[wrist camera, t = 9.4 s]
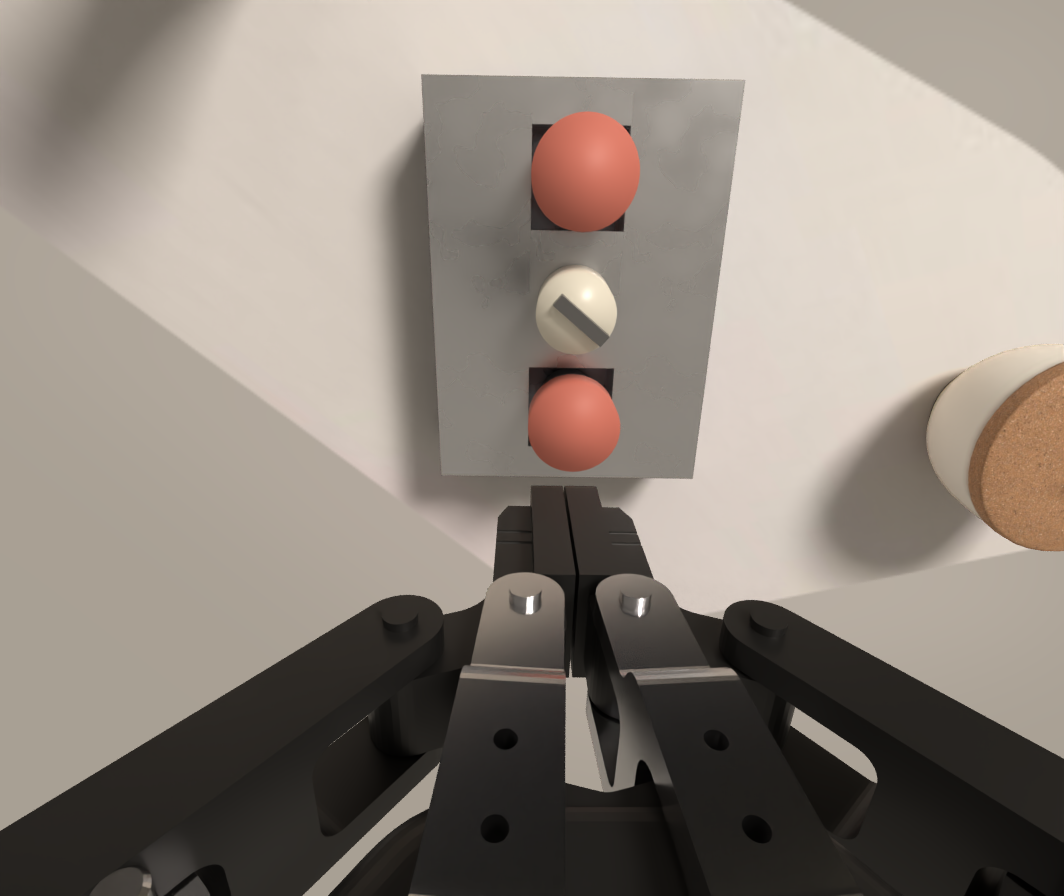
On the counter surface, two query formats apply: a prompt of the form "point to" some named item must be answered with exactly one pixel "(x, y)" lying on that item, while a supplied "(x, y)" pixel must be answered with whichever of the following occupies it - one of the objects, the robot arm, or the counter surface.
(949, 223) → the counter surface
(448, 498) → the counter surface
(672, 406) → the panel
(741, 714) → the robot arm
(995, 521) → the lidded jar
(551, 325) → the dial
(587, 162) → the knob inner
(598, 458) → the knob outer
